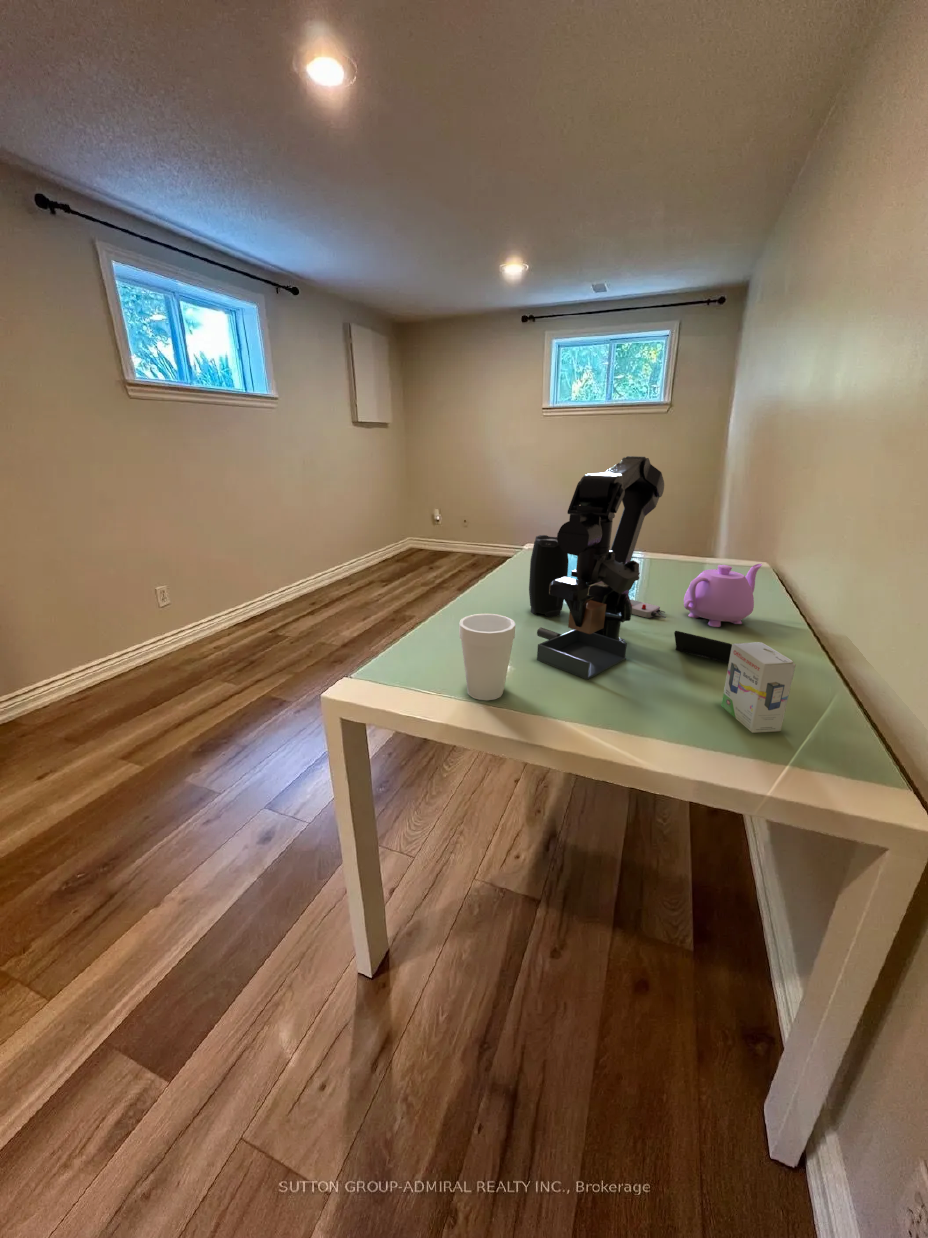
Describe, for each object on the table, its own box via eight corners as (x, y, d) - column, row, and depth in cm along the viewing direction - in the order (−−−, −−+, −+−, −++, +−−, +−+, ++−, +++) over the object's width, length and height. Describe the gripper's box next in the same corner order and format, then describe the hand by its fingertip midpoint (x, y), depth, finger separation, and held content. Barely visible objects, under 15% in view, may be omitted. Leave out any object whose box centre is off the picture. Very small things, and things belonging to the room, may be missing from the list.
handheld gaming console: (739, 644, 104) (738, 617, 96) (736, 674, 100) (735, 648, 93) (680, 640, 110) (675, 614, 103) (675, 668, 106) (670, 643, 99)
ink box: (781, 732, 75) (800, 663, 71) (749, 734, 75) (766, 664, 71) (746, 704, 83) (761, 640, 79) (717, 705, 83) (731, 641, 79)
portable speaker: (524, 608, 130) (528, 534, 124) (557, 606, 131) (563, 534, 125) (532, 618, 122) (537, 541, 116) (568, 617, 123) (575, 540, 117)
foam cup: (457, 679, 91) (458, 613, 86) (507, 678, 91) (510, 613, 87) (460, 705, 82) (461, 633, 78) (515, 704, 83) (519, 632, 78)
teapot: (726, 605, 134) (737, 555, 129) (777, 624, 120) (791, 570, 116) (661, 613, 127) (669, 561, 123) (706, 634, 114) (717, 577, 109)
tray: (558, 635, 112) (559, 619, 110) (626, 658, 100) (628, 641, 99) (517, 652, 102) (518, 635, 101) (587, 680, 91) (589, 661, 90)
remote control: (618, 602, 136) (619, 591, 135) (674, 616, 125) (676, 605, 124) (606, 607, 131) (607, 596, 130) (662, 622, 121) (664, 611, 120)
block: (582, 621, 100) (584, 598, 98) (603, 628, 97) (606, 604, 95) (567, 627, 97) (570, 603, 95) (589, 634, 94) (592, 609, 92)
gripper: (605, 560, 80) (595, 648, 85) (658, 544, 92) (647, 622, 97) (550, 549, 87) (544, 631, 93) (606, 536, 99) (598, 609, 105)
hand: (586, 623), depth 97 cm, fingers closed on block, 5 cm apart
